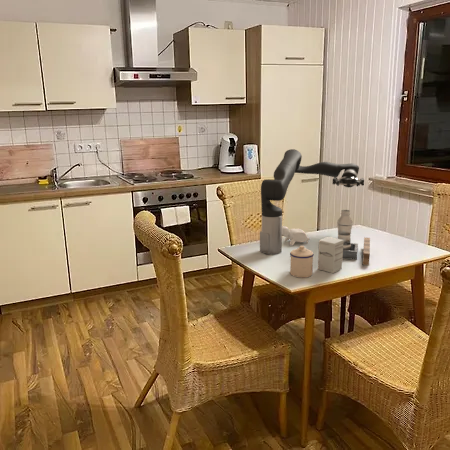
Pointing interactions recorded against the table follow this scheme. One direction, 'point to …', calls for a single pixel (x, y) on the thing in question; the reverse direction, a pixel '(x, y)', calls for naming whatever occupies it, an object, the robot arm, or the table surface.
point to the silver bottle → (345, 229)
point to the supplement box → (330, 254)
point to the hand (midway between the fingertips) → (347, 183)
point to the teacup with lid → (301, 262)
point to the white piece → (294, 235)
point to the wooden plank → (366, 251)
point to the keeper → (351, 252)
